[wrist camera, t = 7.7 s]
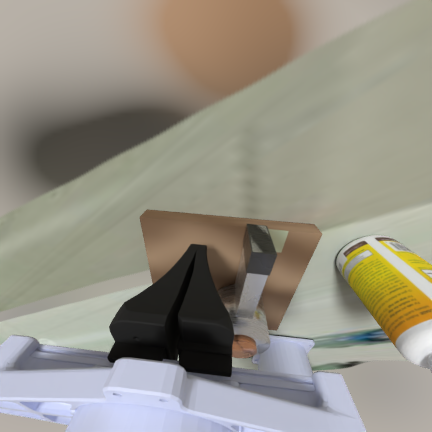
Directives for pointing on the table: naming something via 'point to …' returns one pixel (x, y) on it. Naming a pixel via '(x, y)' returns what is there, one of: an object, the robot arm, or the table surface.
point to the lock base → (231, 251)
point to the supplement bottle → (393, 292)
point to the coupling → (250, 293)
